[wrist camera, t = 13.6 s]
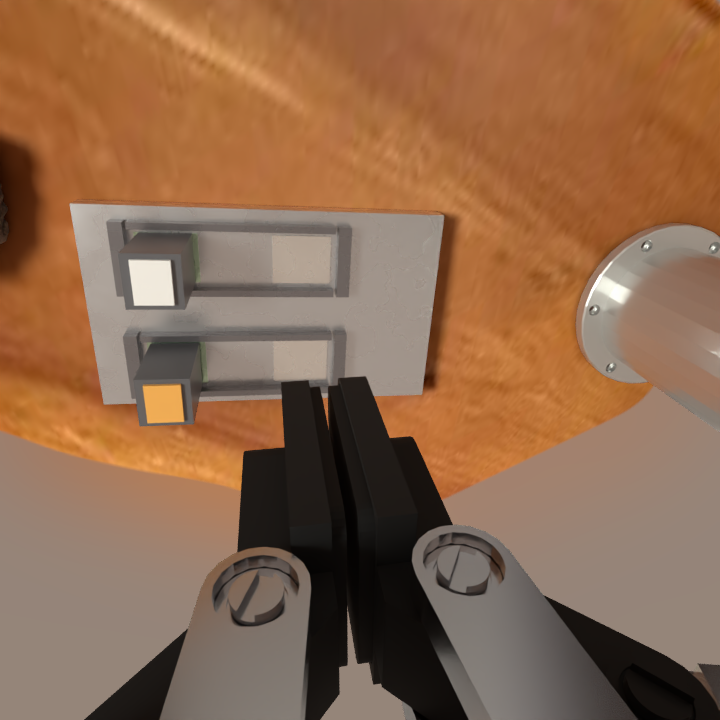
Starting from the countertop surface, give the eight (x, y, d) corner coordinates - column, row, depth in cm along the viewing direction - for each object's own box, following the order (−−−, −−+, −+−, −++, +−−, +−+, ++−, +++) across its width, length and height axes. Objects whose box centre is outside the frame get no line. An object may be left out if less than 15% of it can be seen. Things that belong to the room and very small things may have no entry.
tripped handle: (199, 343, 34) (189, 380, 29) (202, 384, 35) (193, 425, 30) (150, 343, 33) (132, 381, 29) (155, 385, 35) (138, 428, 30)
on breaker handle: (192, 233, 31) (179, 255, 27) (195, 281, 32) (184, 310, 28) (138, 231, 31) (117, 254, 26) (144, 281, 32) (124, 311, 27)
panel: (437, 211, 35) (448, 217, 33) (416, 385, 40) (424, 400, 38) (77, 199, 31) (64, 205, 29) (109, 393, 36) (100, 410, 34)
